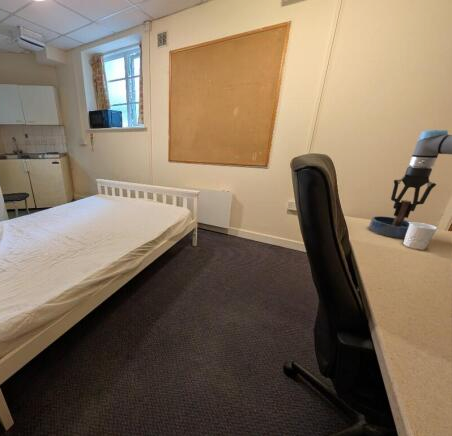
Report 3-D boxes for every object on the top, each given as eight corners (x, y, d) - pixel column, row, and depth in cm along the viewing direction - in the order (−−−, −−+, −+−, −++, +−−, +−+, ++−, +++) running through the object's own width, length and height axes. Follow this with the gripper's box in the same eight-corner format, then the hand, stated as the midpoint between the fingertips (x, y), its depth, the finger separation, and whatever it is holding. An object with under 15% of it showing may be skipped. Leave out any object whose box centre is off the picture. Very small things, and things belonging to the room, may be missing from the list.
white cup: (426, 252, 92) (437, 230, 89) (400, 245, 98) (408, 225, 94) (427, 246, 97) (437, 225, 93) (402, 240, 103) (410, 220, 99)
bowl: (409, 232, 112) (414, 221, 110) (411, 242, 101) (417, 230, 99) (369, 224, 122) (372, 214, 120) (367, 232, 111) (371, 221, 109)
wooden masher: (401, 230, 109) (413, 200, 104) (402, 233, 106) (414, 203, 100) (387, 227, 112) (398, 199, 107) (387, 230, 109) (399, 201, 104)
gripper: (394, 166, 101) (377, 214, 109) (450, 169, 90) (426, 222, 99) (394, 164, 106) (377, 210, 114) (446, 167, 95) (424, 218, 104)
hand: (400, 216), depth 106 cm, fingers closed on wooden masher, 3 cm apart
